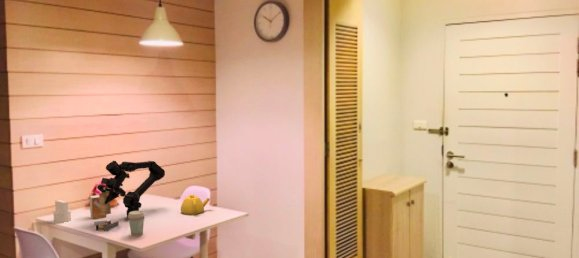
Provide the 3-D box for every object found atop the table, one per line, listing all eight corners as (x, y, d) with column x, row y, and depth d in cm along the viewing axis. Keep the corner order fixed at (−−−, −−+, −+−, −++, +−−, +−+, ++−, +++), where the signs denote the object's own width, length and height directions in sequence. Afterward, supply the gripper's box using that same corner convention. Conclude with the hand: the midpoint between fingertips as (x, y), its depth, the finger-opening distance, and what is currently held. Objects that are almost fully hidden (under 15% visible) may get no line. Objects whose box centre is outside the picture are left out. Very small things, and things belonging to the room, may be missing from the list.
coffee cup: (138, 237, 243) (137, 215, 242) (125, 236, 246) (124, 213, 245) (148, 233, 251) (148, 211, 249) (135, 231, 254) (135, 209, 253)
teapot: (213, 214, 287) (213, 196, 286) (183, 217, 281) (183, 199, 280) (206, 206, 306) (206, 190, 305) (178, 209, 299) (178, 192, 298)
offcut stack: (103, 228, 260) (103, 222, 259) (108, 229, 259) (108, 222, 258) (98, 230, 256) (97, 224, 256) (103, 231, 255) (102, 224, 254)
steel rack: (110, 224, 266) (109, 220, 266) (118, 225, 264) (118, 221, 264) (95, 230, 256) (95, 225, 256) (104, 231, 254) (104, 226, 254)
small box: (92, 219, 277) (91, 197, 276) (90, 217, 282) (89, 195, 281) (106, 217, 281) (106, 196, 280) (104, 215, 287) (103, 194, 286)
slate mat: (106, 221, 273) (106, 220, 273) (107, 224, 267) (107, 223, 267) (93, 222, 271) (93, 221, 271) (94, 225, 264) (94, 224, 264)
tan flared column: (106, 212, 266) (105, 192, 265) (110, 213, 264) (109, 192, 263) (100, 214, 262) (99, 193, 261) (104, 215, 260) (103, 194, 259)
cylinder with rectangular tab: (74, 220, 275) (73, 200, 274) (59, 224, 268) (58, 203, 267) (65, 218, 280) (64, 198, 279) (50, 221, 273) (49, 201, 272)
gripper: (98, 170, 269) (82, 193, 261) (120, 173, 260) (104, 197, 251) (110, 181, 277) (95, 204, 268) (132, 184, 267) (117, 208, 259)
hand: (102, 203), depth 261 cm, fingers closed on tan flared column, 3 cm apart
